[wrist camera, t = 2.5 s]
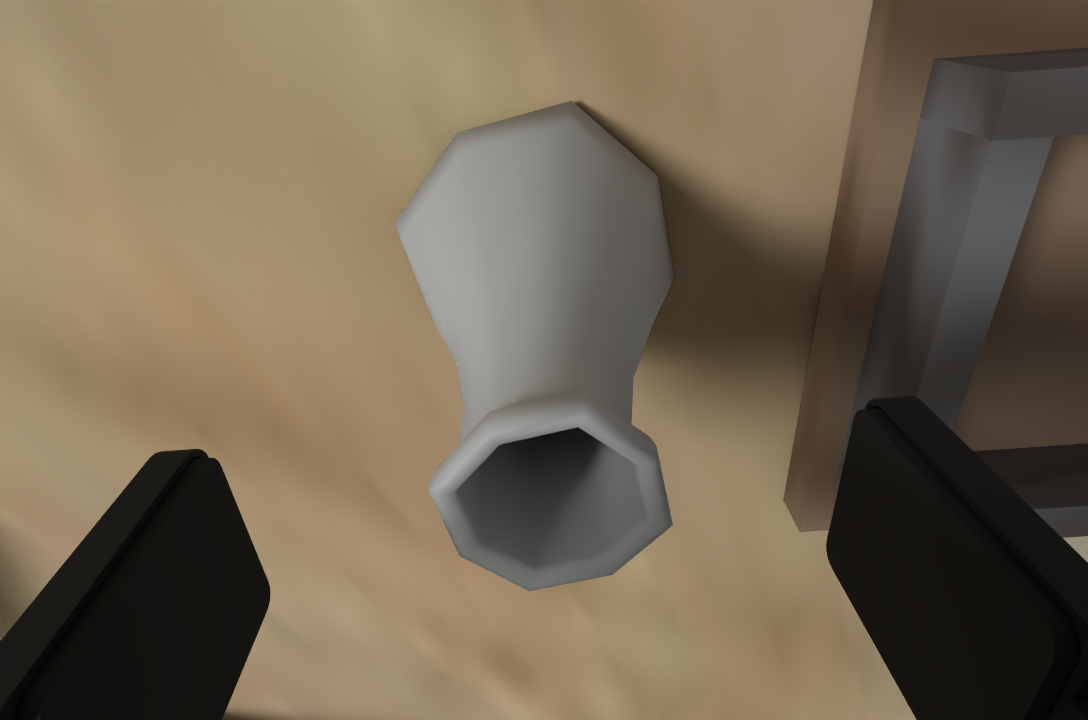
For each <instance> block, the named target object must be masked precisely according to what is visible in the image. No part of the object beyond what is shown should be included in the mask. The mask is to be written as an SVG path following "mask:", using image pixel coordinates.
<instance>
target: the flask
mask: <svg viewBox="0 0 1088 720" xmlns="http://www.w3.org/2000/svg"><path fill="white" fill-rule="evenodd" d="M394 224H395V226H396V229H397V231H398V234H399V236H400V239H401V242H402V244H403V247H404V249H405V252H406V254H407V257H408V259H409V262H410V264H411V267H412V269H413V272H414V275H415V277H416V280H417V282H418V285H419V287H420V290H421V292H422V295H423V297H424V300H425V303H426V305H427V308H428V310H429V313H430V315H431V318H432V320H433V322H434V324H435V326H436V328H437V330H438V332H439V333H440V335H441V337H442V338H443V340H444V342H445V344H446V345H447V347H448V349H449V350H450V352H451V354H452V355H453V357H454V359H455V362H456V365H457V371H458V377H459V383H460V389H461V395H462V401H463V414H462V423H461V432H460V441H459V445H458V446H457V447H456V448H455V449H454V450H453V452H452V453H451V454H450V455H449V456H448V457H447V458H446V459H445V460H444V461H443V463H442V464H441V465H440V466H439V467H438V468H437V469H436V471H435V473H434V475H433V476H432V478H431V480H430V489H429V492H430V494H431V496H432V499H433V501H434V503H435V505H436V507H437V509H438V511H439V513H440V515H441V518H442V520H443V522H444V524H445V526H446V528H447V530H448V532H449V535H450V537H451V539H452V541H453V543H454V545H455V547H456V549H457V551H458V554H459V556H461V557H463V558H465V559H467V560H469V561H471V562H473V563H475V564H477V565H479V566H481V567H483V568H485V569H487V570H489V571H491V572H493V573H495V574H497V575H499V576H501V577H503V578H504V579H506V580H508V581H510V582H512V583H514V584H516V585H518V586H520V587H522V588H524V589H526V590H528V591H532V590H538V589H543V588H548V587H553V586H558V585H563V584H568V583H573V582H578V581H583V580H588V579H593V578H598V577H603V576H608V575H613V574H614V573H615V572H616V571H617V570H619V569H620V568H621V567H622V566H624V565H625V564H626V563H627V562H628V561H630V560H631V559H632V558H633V557H634V556H636V555H637V554H638V553H639V552H641V551H642V550H643V549H644V548H645V547H647V546H648V545H649V544H650V543H652V542H653V541H654V540H655V539H656V538H658V537H659V536H660V535H661V534H662V533H664V532H665V531H666V530H667V529H669V528H670V527H671V526H672V525H673V524H672V519H671V514H670V509H669V505H668V500H667V495H666V490H665V486H664V481H663V476H662V471H661V466H660V462H659V457H658V452H657V447H656V445H655V444H654V442H653V441H652V439H651V438H650V437H649V436H648V435H647V434H645V433H644V432H642V431H641V430H639V429H638V428H636V427H635V426H633V425H632V424H631V420H632V397H633V378H634V375H635V372H636V369H637V367H638V364H639V361H640V358H641V355H642V353H643V350H644V347H645V344H646V342H647V339H648V336H649V333H650V331H651V328H652V325H653V323H654V321H655V318H656V316H657V314H658V312H659V310H660V308H661V306H662V304H663V301H664V299H665V297H666V295H667V293H668V291H669V289H670V286H671V283H672V280H673V278H674V275H673V269H672V262H671V256H670V250H669V244H668V238H667V231H666V225H665V219H664V213H663V206H662V200H661V194H660V188H659V182H658V176H657V175H656V174H655V173H654V172H652V171H651V170H650V169H649V168H648V167H647V166H646V165H644V164H643V163H642V162H641V161H640V160H639V159H638V158H636V157H635V156H634V155H633V154H632V153H631V152H629V151H628V150H627V149H626V148H625V147H624V146H623V145H621V144H620V143H619V142H618V141H617V140H616V139H615V138H613V137H612V136H611V135H610V134H609V133H608V132H607V131H605V130H604V129H603V128H602V127H601V126H600V125H598V124H597V123H596V122H595V121H594V120H593V119H592V118H590V117H589V116H588V115H587V114H586V113H585V112H584V111H582V110H581V109H580V108H579V107H578V106H577V105H576V104H574V103H573V102H572V101H569V102H566V103H562V104H559V105H555V106H551V107H548V108H544V109H541V110H537V111H533V112H530V113H526V114H523V115H519V116H515V117H512V118H508V119H505V120H501V121H498V122H494V123H490V124H487V125H483V126H480V127H476V128H472V129H469V130H465V131H462V132H458V133H456V135H455V136H454V138H453V139H452V141H451V142H450V143H449V145H448V146H447V148H446V149H445V151H444V152H443V153H442V155H441V156H440V158H439V159H438V161H437V162H436V163H435V165H434V166H433V168H432V169H431V171H430V172H429V174H428V175H427V176H426V178H425V179H424V181H423V182H422V184H421V185H420V186H419V188H418V189H417V191H416V192H415V194H414V195H413V196H412V198H411V199H410V201H409V202H408V204H407V205H406V206H405V208H404V209H403V211H402V212H401V214H400V215H399V216H398V218H397V219H396V221H395V222H394Z"/></svg>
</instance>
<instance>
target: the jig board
mask: <svg viewBox="0 0 1088 720" xmlns="http://www.w3.org/2000/svg"><path fill="white" fill-rule="evenodd" d="M901 396H915V397H917V398H918V399H920V400H921V401H922V402H923V403H924V404H925V405H926V406H927V407H928V408H930V409H931V410H932V411H933V412H934V413H935V414H936V415H937V416H938V417H939V418H940V419H941V420H942V421H943V422H944V423H945V424H946V425H947V426H948V427H949V428H950V429H951V430H952V431H953V432H954V433H955V434H956V435H957V436H958V437H959V438H960V439H961V440H962V441H963V442H964V443H965V444H966V445H967V446H968V447H969V448H971V449H972V450H973V451H974V452H975V453H976V454H977V455H978V456H979V457H980V458H981V459H982V460H983V461H984V462H985V463H986V464H987V465H988V466H989V467H990V468H991V469H992V470H993V471H994V472H995V473H996V474H997V475H998V476H999V477H1000V478H1001V479H1002V480H1003V481H1004V482H1005V483H1006V484H1007V485H1008V486H1009V487H1011V488H1012V489H1013V490H1014V491H1015V492H1016V493H1017V494H1018V495H1019V496H1020V497H1021V498H1022V499H1023V500H1024V501H1025V502H1026V503H1027V504H1028V505H1029V506H1030V507H1031V508H1032V509H1033V510H1034V511H1035V512H1036V513H1037V514H1038V515H1039V516H1040V517H1041V518H1042V519H1043V520H1044V521H1045V522H1046V523H1047V524H1048V525H1049V526H1050V527H1052V528H1053V529H1054V530H1055V531H1056V532H1057V533H1058V534H1059V535H1060V536H1061V537H1062V538H1064V537H1079V536H1088V0H873V6H872V11H871V17H870V22H869V28H868V34H867V39H866V45H865V50H864V56H863V61H862V67H861V72H860V78H859V84H858V89H857V95H856V100H855V106H854V111H853V117H852V122H851V128H850V134H849V139H848V145H847V150H846V156H845V161H844V167H843V172H842V178H841V184H840V189H839V195H838V200H837V206H836V211H835V217H834V222H833V228H832V234H831V239H830V245H829V250H828V256H827V261H826V267H825V272H824V278H823V284H822V289H821V295H820V300H819V306H818V311H817V317H816V322H815V328H814V334H813V339H812V345H811V350H810V356H809V361H808V367H807V372H806V378H805V384H804V389H803V395H802V400H801V406H800V411H799V417H798V422H797V428H796V434H795V439H794V445H793V450H792V456H791V461H790V467H789V473H788V478H787V484H786V489H785V495H784V502H785V504H786V506H787V508H788V510H789V512H790V514H791V516H792V518H793V520H794V522H795V524H796V526H797V527H798V529H799V531H800V532H806V531H821V530H829V528H830V523H831V519H832V514H833V510H834V505H835V501H836V496H837V492H838V487H839V482H840V478H841V473H842V469H843V464H844V460H845V455H846V451H847V446H848V441H849V437H850V432H851V428H852V423H853V419H854V416H855V413H856V412H857V411H858V410H861V409H865V406H866V404H867V403H868V402H869V400H872V399H874V398H887V397H901Z"/></svg>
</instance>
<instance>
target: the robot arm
mask: <svg viewBox="0 0 1088 720" xmlns="http://www.w3.org/2000/svg"><path fill="white" fill-rule="evenodd" d="M826 549H827V556H828V560H829V563H830V565H831V567H832V569H833V571H834V573H835V575H836V576H837V578H838V580H839V582H840V584H841V585H842V587H843V589H844V591H845V592H846V594H847V596H848V598H849V600H850V601H851V603H852V605H853V607H854V609H855V610H856V612H857V614H858V616H859V617H860V619H861V621H862V623H863V625H864V626H865V628H866V630H867V632H868V634H869V635H870V637H871V639H872V641H873V642H874V644H875V646H876V648H877V650H878V651H879V653H880V655H881V657H882V659H883V660H884V662H885V664H886V666H887V667H888V669H889V671H890V673H891V675H892V676H893V678H894V680H895V682H896V684H897V685H898V687H899V689H900V691H901V692H902V694H903V696H904V698H905V700H906V701H907V703H908V705H909V707H910V709H911V710H912V712H913V714H914V716H915V717H916V719H917V720H1088V563H1087V562H1086V561H1085V560H1084V559H1083V558H1082V557H1081V556H1080V555H1079V554H1078V553H1077V552H1076V551H1075V550H1074V549H1073V548H1072V547H1071V546H1070V545H1069V544H1068V543H1067V542H1066V541H1065V540H1064V539H1063V538H1062V537H1061V536H1060V535H1059V534H1058V533H1057V532H1056V531H1055V530H1054V529H1053V528H1052V527H1050V526H1049V525H1048V524H1047V523H1046V522H1045V521H1044V520H1043V519H1042V518H1041V517H1040V516H1039V515H1038V514H1037V513H1036V512H1035V511H1034V510H1033V509H1032V508H1031V507H1030V506H1029V505H1028V504H1027V503H1026V502H1025V501H1024V500H1023V499H1022V498H1021V497H1020V496H1019V495H1018V494H1017V493H1016V492H1015V491H1014V490H1013V489H1012V488H1011V487H1009V486H1008V485H1007V484H1006V483H1005V482H1004V481H1003V480H1002V479H1001V478H1000V477H999V476H998V475H997V474H996V473H995V472H994V471H993V470H992V469H991V468H990V467H989V466H988V465H987V464H986V463H985V462H984V461H983V460H982V459H981V458H980V457H979V456H978V455H977V454H976V453H975V452H974V451H973V450H972V449H971V448H969V447H968V446H967V445H966V444H965V443H964V442H963V441H962V440H961V439H960V438H959V437H958V436H957V435H956V434H955V433H954V432H953V431H952V430H951V429H950V428H949V427H948V426H947V425H946V424H945V423H944V422H943V421H942V420H941V419H940V418H939V417H938V416H937V415H936V414H935V413H934V412H933V411H932V410H931V409H930V408H928V407H927V406H926V405H925V404H924V403H923V402H922V401H921V400H920V399H918V398H917V397H915V396H901V397H887V398H874V399H872V400H869V402H868V403H867V404H866V406H865V409H861V410H858V411H857V412H856V413H855V416H854V419H853V423H852V428H851V432H850V437H849V441H848V446H847V451H846V455H845V460H844V464H843V469H842V473H841V478H840V482H839V487H838V492H837V496H836V501H835V505H834V510H833V514H832V519H831V523H830V528H829V533H828V537H827V543H826ZM269 602H270V586H269V582H268V580H267V577H266V575H265V572H264V570H263V567H262V565H261V563H260V560H259V558H258V555H257V553H256V550H255V548H254V545H253V543H252V540H251V538H250V536H249V533H248V531H247V528H246V526H245V523H244V521H243V518H242V516H241V514H240V511H239V509H238V506H237V504H236V501H235V499H234V496H233V494H232V491H231V489H230V487H229V484H228V482H227V479H226V477H225V474H224V472H223V469H222V467H221V465H220V463H219V461H218V460H216V459H215V458H209V457H208V455H207V454H206V453H205V452H204V451H203V450H200V449H189V450H176V451H162V452H158V453H155V454H154V455H153V456H152V457H150V458H149V460H148V461H147V462H146V463H145V465H144V466H143V467H142V468H141V469H140V471H139V472H138V473H137V474H136V476H135V477H134V478H133V479H132V480H131V482H130V483H129V484H128V485H127V487H126V488H125V489H124V490H123V492H122V493H121V494H120V495H119V496H118V498H117V499H116V500H115V501H114V503H113V504H112V505H111V506H110V507H109V509H108V510H107V511H106V512H105V514H104V515H103V516H102V517H101V519H100V520H99V521H98V522H97V523H96V525H95V526H94V527H93V528H92V530H91V531H90V532H89V533H88V534H87V536H86V537H85V538H84V539H83V541H82V542H81V543H80V544H79V545H78V547H77V548H76V549H75V550H74V552H73V553H72V554H71V555H70V557H69V558H68V559H67V560H66V561H65V563H64V564H63V565H62V566H61V568H60V569H59V570H58V571H57V572H56V574H55V575H54V576H53V577H52V579H51V580H50V581H49V582H48V584H47V585H46V586H45V587H44V588H43V590H42V591H41V592H40V593H39V595H38V596H37V597H36V598H35V599H34V601H33V602H32V603H31V604H30V606H29V607H28V608H27V609H26V611H25V612H24V613H23V614H22V615H21V617H20V618H19V619H18V620H17V622H16V623H15V624H14V625H13V626H12V628H11V629H10V630H9V631H8V633H7V634H6V635H5V636H4V637H3V639H2V640H1V641H0V720H222V718H223V716H224V713H225V711H226V708H227V706H228V704H229V701H230V699H231V696H232V694H233V692H234V689H235V687H236V684H237V682H238V679H239V677H240V675H241V672H242V670H243V667H244V665H245V663H246V660H247V658H248V655H249V653H250V651H251V648H252V646H253V643H254V641H255V639H256V636H257V634H258V631H259V629H260V626H261V624H262V622H263V619H264V617H265V614H266V612H267V609H268V606H269Z"/></svg>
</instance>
